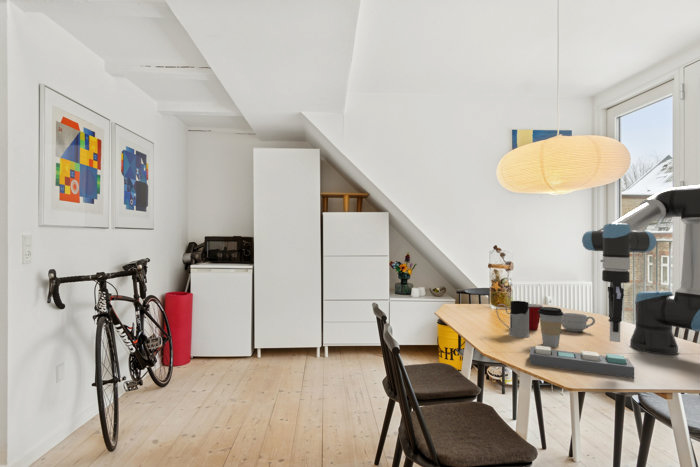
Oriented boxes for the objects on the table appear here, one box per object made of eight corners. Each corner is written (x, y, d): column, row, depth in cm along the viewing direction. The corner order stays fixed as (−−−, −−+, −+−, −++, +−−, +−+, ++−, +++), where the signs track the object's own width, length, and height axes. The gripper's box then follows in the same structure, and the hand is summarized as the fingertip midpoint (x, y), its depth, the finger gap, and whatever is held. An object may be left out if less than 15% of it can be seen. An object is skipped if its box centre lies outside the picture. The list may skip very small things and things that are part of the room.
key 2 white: (597, 359, 135) (597, 352, 135) (599, 363, 130) (599, 356, 130) (581, 357, 137) (581, 350, 137) (582, 361, 132) (582, 354, 132)
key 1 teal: (623, 362, 131) (623, 355, 131) (625, 366, 127) (625, 359, 127) (606, 360, 134) (606, 353, 134) (608, 364, 129) (608, 357, 129)
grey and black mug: (531, 338, 172) (531, 304, 172) (497, 336, 176) (497, 302, 176) (528, 333, 181) (528, 301, 181) (495, 331, 184) (495, 299, 185)
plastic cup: (534, 326, 197) (534, 302, 197) (548, 331, 186) (548, 305, 186) (514, 326, 195) (514, 302, 195) (526, 331, 184) (527, 306, 185)
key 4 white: (550, 353, 141) (550, 347, 141) (550, 357, 137) (550, 350, 137) (535, 351, 143) (535, 345, 143) (535, 355, 139) (535, 348, 139)
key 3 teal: (573, 360, 138) (573, 353, 138) (574, 364, 133) (574, 357, 133) (558, 358, 140) (558, 352, 140) (558, 362, 135) (558, 355, 136)
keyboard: (628, 368, 133) (628, 358, 133) (634, 378, 124) (634, 367, 124) (530, 356, 146) (530, 347, 146) (529, 364, 137) (529, 354, 137)
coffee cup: (566, 349, 156) (566, 311, 156) (541, 347, 158) (541, 310, 158) (559, 342, 166) (559, 307, 166) (535, 341, 167) (535, 306, 168)
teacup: (557, 330, 187) (557, 313, 188) (565, 327, 195) (565, 310, 195) (590, 336, 178) (590, 318, 178) (597, 332, 185) (597, 315, 185)
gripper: (599, 268, 138) (598, 335, 138) (605, 270, 126) (604, 344, 126) (625, 269, 135) (624, 338, 134) (633, 271, 123) (632, 347, 123)
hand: (614, 341), depth 130 cm, fingers closed
